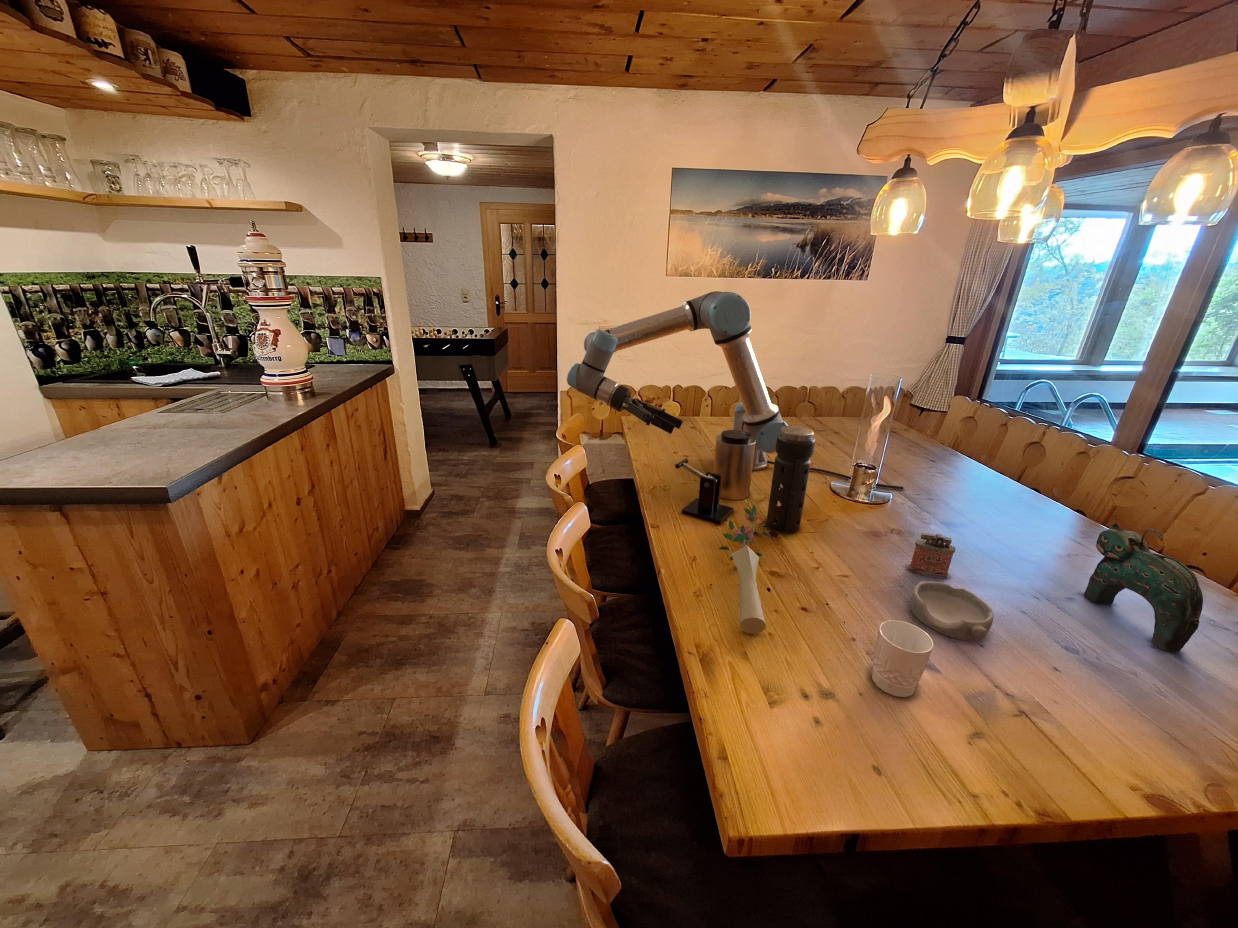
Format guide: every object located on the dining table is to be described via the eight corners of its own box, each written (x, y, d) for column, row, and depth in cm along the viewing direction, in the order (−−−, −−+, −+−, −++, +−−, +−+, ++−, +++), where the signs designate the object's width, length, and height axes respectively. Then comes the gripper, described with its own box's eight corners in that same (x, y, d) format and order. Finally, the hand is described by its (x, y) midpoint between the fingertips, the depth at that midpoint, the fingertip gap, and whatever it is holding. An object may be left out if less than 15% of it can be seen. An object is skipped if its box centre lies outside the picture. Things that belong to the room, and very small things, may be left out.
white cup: (858, 666, 88) (869, 620, 84) (900, 664, 88) (913, 618, 85) (884, 701, 80) (898, 653, 77) (929, 699, 81) (945, 651, 77)
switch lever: (673, 468, 142) (676, 461, 141) (682, 462, 147) (685, 456, 145) (708, 490, 138) (712, 484, 136) (717, 484, 142) (720, 477, 141)
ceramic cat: (1071, 590, 110) (1105, 510, 103) (1100, 591, 110) (1136, 511, 103) (1159, 654, 92) (1207, 562, 85) (1194, 655, 92) (1246, 564, 84)
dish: (990, 653, 91) (998, 631, 89) (905, 626, 98) (911, 605, 96) (985, 611, 103) (992, 591, 101) (910, 589, 109) (915, 570, 108)
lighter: (945, 571, 116) (956, 535, 113) (949, 579, 113) (960, 542, 110) (907, 565, 119) (917, 529, 115) (910, 572, 116) (920, 535, 112)
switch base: (681, 513, 143) (684, 476, 138) (696, 501, 150) (699, 466, 146) (720, 525, 137) (724, 486, 132) (733, 511, 144) (737, 475, 140)
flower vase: (730, 655, 100) (722, 539, 129) (792, 650, 96) (770, 531, 125) (717, 617, 94) (712, 504, 123) (783, 611, 91) (762, 496, 119)
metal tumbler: (705, 493, 156) (710, 435, 149) (719, 481, 165) (725, 426, 158) (741, 503, 150) (748, 442, 143) (754, 490, 159) (761, 432, 152)
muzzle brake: (805, 536, 131) (796, 518, 141) (822, 437, 121) (811, 425, 131) (769, 534, 132) (762, 516, 142) (783, 435, 122) (774, 424, 131)
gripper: (621, 404, 160) (678, 434, 156) (596, 409, 136) (663, 444, 133) (630, 383, 158) (689, 413, 154) (607, 384, 134) (675, 419, 131)
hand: (677, 427), depth 143 cm, fingers open, 13 cm apart
